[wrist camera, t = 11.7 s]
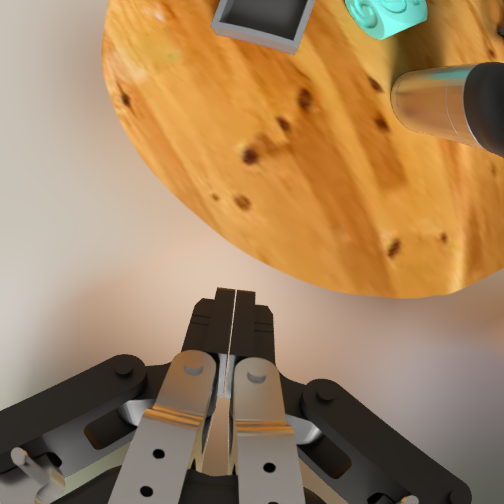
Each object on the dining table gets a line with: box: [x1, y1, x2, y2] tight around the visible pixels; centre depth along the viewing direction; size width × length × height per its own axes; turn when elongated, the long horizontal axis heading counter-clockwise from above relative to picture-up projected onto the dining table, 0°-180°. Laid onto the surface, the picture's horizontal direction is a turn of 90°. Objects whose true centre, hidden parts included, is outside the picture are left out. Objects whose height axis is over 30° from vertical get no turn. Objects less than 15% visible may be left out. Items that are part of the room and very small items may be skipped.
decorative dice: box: [345, 0, 428, 40], centre depth 25 cm, size 8×8×8 cm
